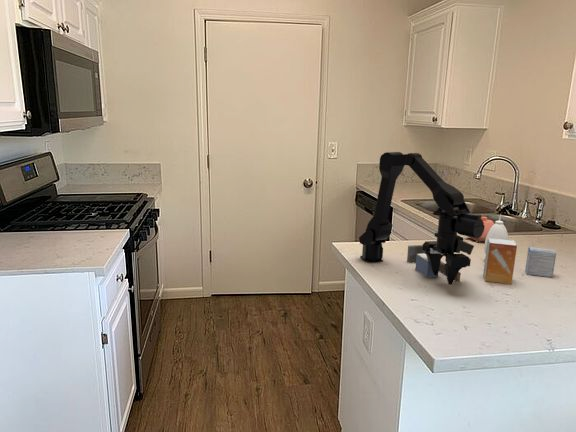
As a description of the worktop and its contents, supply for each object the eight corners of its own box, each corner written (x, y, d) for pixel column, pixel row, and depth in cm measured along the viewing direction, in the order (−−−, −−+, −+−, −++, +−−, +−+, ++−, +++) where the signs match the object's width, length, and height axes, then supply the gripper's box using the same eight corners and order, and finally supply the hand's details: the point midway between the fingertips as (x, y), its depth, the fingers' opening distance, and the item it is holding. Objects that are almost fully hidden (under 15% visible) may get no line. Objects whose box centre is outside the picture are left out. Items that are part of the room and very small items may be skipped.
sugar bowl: (502, 244, 194) (505, 220, 192) (468, 243, 194) (471, 219, 192) (490, 236, 206) (492, 214, 204) (458, 236, 206) (460, 213, 204)
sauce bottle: (509, 262, 170) (515, 214, 166) (501, 267, 164) (508, 217, 161) (487, 257, 175) (493, 210, 171) (479, 262, 170) (485, 213, 166)
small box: (484, 281, 150) (489, 242, 147) (482, 275, 156) (487, 237, 153) (512, 284, 147) (517, 245, 144) (509, 278, 153) (514, 240, 150)
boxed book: (426, 277, 152) (428, 260, 151) (415, 269, 160) (416, 253, 159) (438, 276, 153) (439, 260, 152) (426, 268, 161) (427, 252, 159)
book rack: (438, 283, 147) (439, 265, 146) (406, 261, 168) (408, 245, 167) (459, 281, 149) (461, 264, 147) (426, 260, 170) (427, 244, 168)
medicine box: (550, 273, 159) (554, 249, 157) (553, 277, 155) (556, 252, 153) (524, 270, 161) (528, 246, 159) (526, 274, 157) (530, 250, 155)
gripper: (489, 238, 135) (483, 289, 139) (454, 223, 153) (450, 269, 157) (454, 239, 133) (449, 291, 137) (423, 224, 151) (419, 270, 154)
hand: (442, 279), depth 146 cm, fingers open, 8 cm apart
